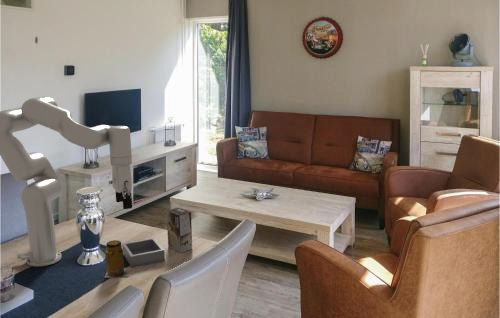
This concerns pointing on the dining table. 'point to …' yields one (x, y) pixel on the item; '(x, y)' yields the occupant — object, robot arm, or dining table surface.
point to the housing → (143, 252)
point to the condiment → (115, 260)
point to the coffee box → (179, 229)
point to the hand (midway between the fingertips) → (124, 205)
